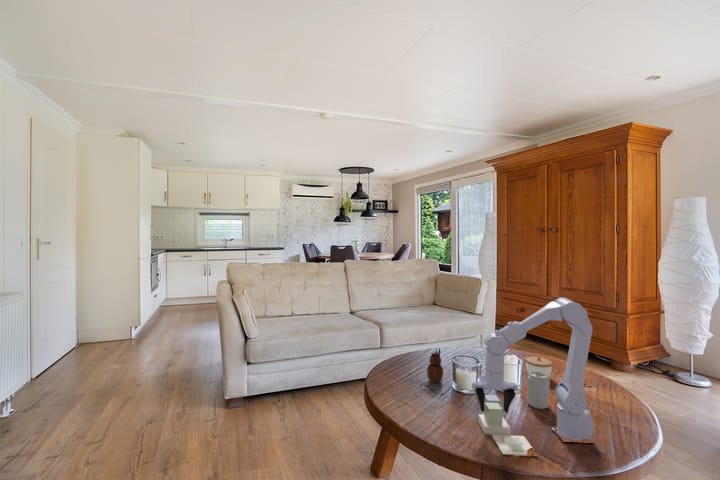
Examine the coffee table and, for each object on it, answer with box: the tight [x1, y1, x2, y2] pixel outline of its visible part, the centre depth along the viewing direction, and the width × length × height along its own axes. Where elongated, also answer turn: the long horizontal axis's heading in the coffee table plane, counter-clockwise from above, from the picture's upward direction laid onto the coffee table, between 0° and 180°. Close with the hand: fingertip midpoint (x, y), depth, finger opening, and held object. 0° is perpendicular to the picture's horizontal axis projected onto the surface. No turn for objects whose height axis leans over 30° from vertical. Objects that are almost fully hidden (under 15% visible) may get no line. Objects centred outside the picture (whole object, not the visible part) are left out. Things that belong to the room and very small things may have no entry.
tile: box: [491, 434, 533, 455], centre depth 110 cm, size 10×10×1 cm
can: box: [526, 372, 551, 410], centre depth 136 cm, size 8×8×12 cm
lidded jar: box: [525, 356, 553, 378], centre depth 164 cm, size 11×11×9 cm
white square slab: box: [477, 413, 511, 436], centre depth 120 cm, size 8×8×3 cm
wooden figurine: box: [426, 347, 444, 384], centre depth 158 cm, size 7×6×15 cm
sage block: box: [483, 403, 504, 424], centre depth 120 cm, size 4×4×5 cm
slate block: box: [484, 394, 501, 406], centre depth 132 cm, size 4×4×5 cm
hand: (493, 410), depth 120 cm, fingers open, 7 cm apart
